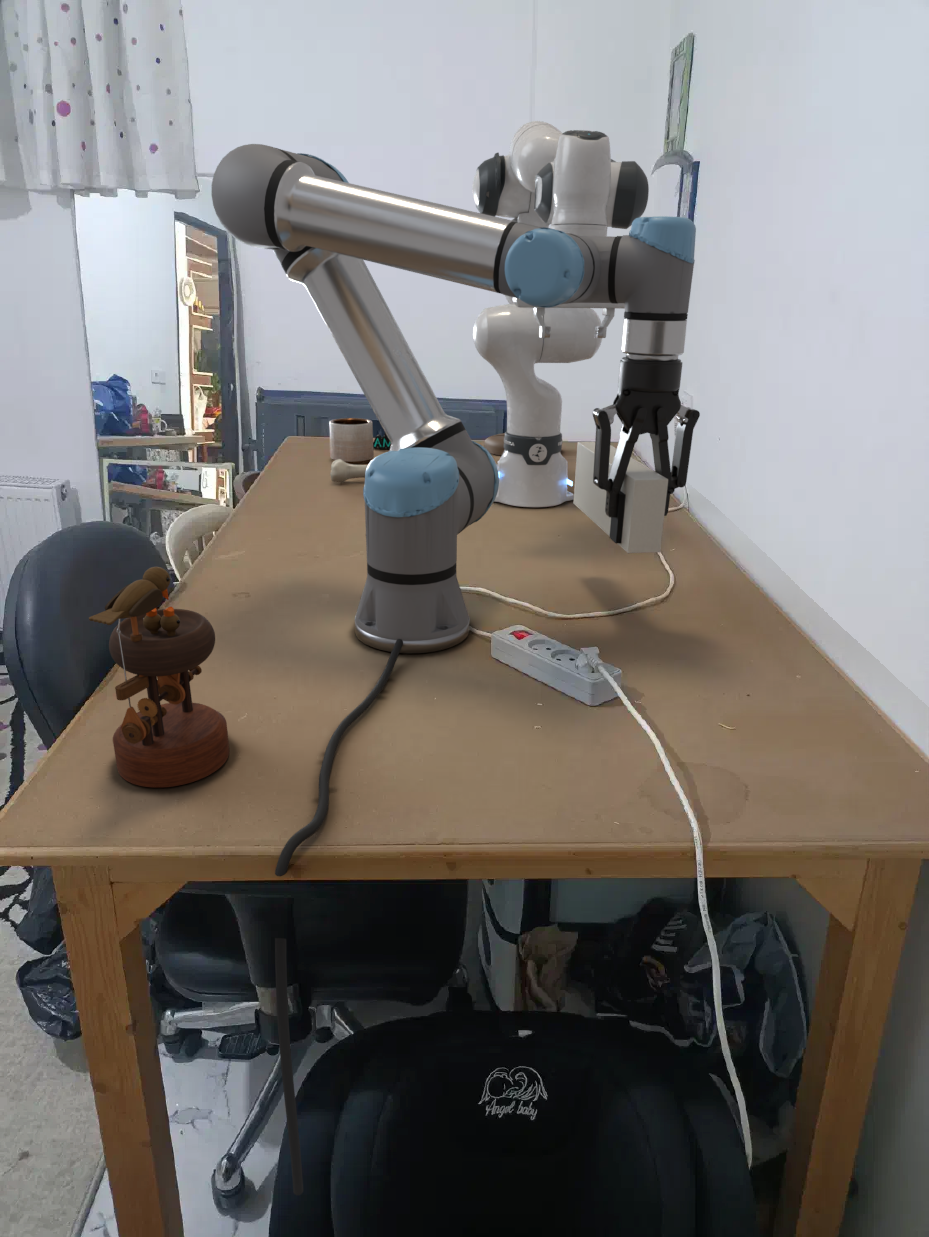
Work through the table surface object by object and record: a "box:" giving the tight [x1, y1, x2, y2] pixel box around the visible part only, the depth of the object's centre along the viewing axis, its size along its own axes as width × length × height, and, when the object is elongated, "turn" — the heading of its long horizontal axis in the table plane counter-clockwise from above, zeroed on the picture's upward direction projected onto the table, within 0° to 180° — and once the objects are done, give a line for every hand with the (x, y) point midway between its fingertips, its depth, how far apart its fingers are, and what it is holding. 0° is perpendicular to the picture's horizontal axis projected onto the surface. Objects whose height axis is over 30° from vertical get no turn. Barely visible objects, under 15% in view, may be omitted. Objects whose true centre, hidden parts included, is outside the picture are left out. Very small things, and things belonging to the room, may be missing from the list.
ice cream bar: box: [483, 432, 562, 457], centre depth 222 cm, size 21×28×4 cm
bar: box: [573, 441, 668, 554], centre depth 118 cm, size 25×4×10 cm, turn 9°
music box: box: [88, 566, 230, 788], centre depth 80 cm, size 15×11×20 cm
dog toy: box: [329, 459, 368, 483], centre depth 191 cm, size 20×6×5 cm, turn 99°
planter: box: [328, 417, 375, 464], centre depth 212 cm, size 11×11×10 cm
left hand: (633, 539), depth 112 cm, fingers closed on bar, 4 cm apart
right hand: (572, 337), depth 139 cm, fingers open, 8 cm apart
